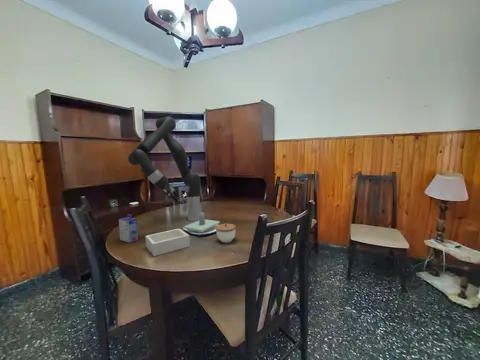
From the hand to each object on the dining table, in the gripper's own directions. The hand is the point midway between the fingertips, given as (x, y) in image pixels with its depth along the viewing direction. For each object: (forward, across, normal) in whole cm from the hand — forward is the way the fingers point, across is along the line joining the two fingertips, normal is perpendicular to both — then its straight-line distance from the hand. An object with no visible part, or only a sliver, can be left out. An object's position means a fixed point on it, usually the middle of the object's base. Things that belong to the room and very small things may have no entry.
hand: (177, 199), depth 136 cm
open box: (+11, -22, +15) cm, 29 cm away
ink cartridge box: (-1, -6, +34) cm, 35 cm away
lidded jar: (+30, -22, -8) cm, 38 cm away
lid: (+23, -2, +1) cm, 23 cm away
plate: (+26, -2, +2) cm, 26 cm away
